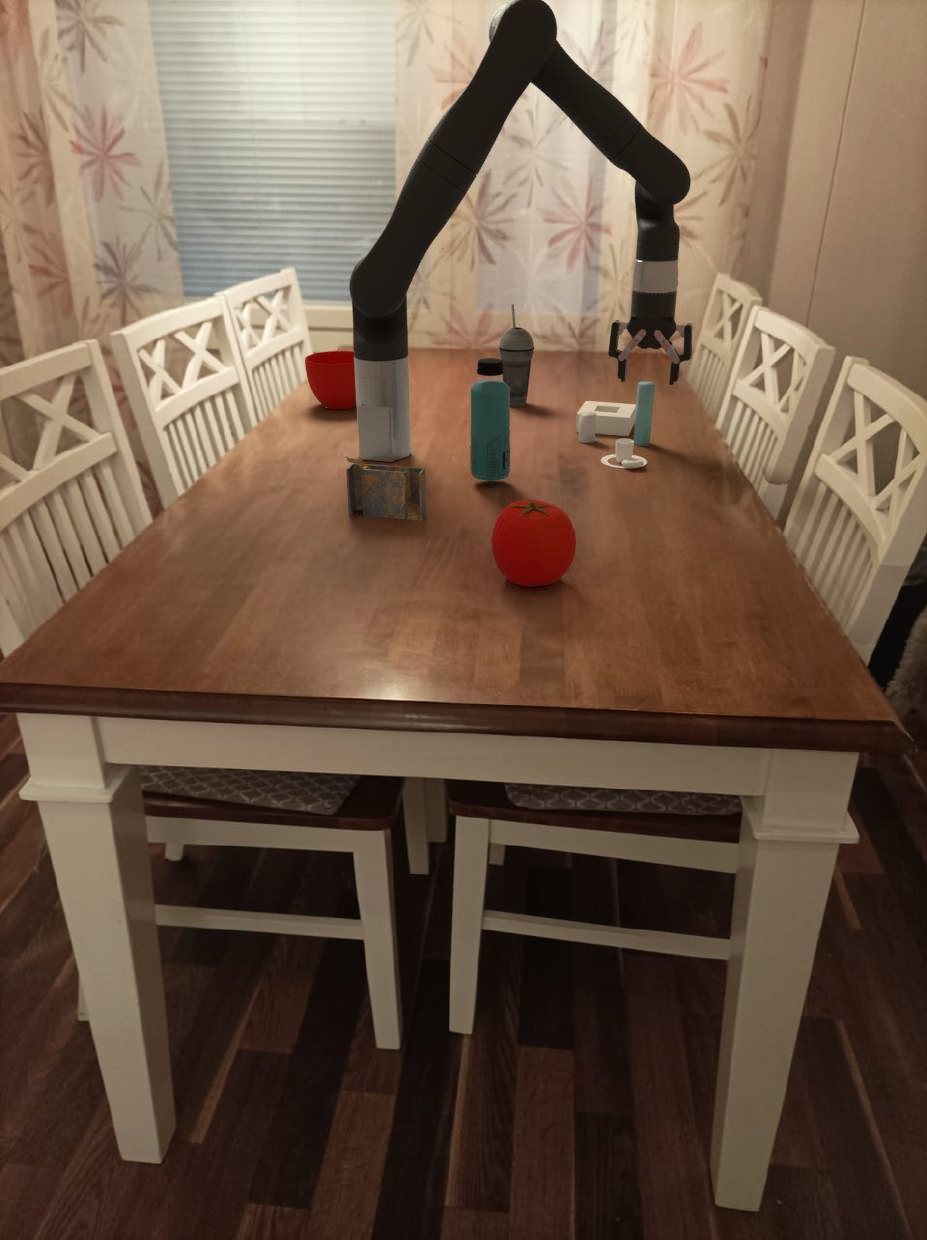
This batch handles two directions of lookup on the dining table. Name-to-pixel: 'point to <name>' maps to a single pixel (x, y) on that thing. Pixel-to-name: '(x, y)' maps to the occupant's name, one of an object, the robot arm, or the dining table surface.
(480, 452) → the beverage bottle
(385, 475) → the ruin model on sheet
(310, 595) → the dining table surface
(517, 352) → the beverage cup
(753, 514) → the dining table surface
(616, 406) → the hole block
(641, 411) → the long pin
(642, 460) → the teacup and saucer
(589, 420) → the short pin
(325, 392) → the ceramic cup
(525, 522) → the tomato
